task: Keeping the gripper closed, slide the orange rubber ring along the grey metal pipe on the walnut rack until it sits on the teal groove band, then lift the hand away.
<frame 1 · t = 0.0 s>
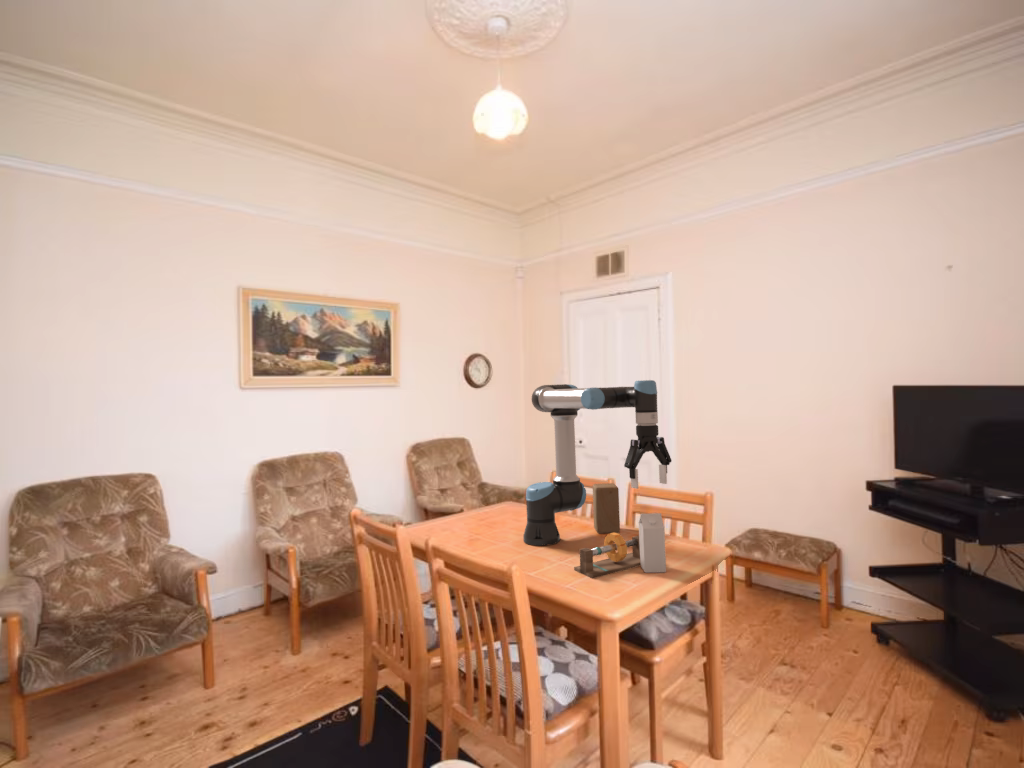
hand: (649, 485, 178), 28 cm above the table, fingers open, 13 cm apart
wooden block: (606, 531, 225), on the table
rack: (613, 566, 179), on the table
pipe: (613, 547, 180), point 6 cm above the table
ring: (615, 547, 180), point 7 cm above the table, slide at 8.0 cm
milk carton: (653, 569, 175), on the table
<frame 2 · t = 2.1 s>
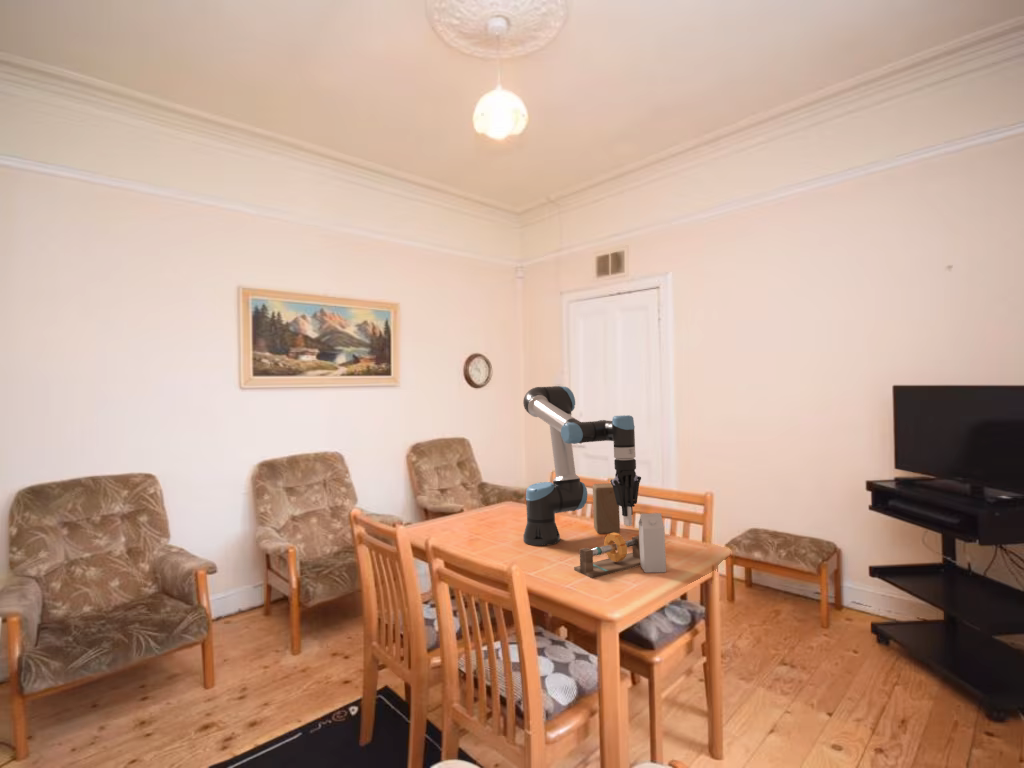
hand: (627, 524, 183), 13 cm above the table, fingers closed
nothing on the table moved.
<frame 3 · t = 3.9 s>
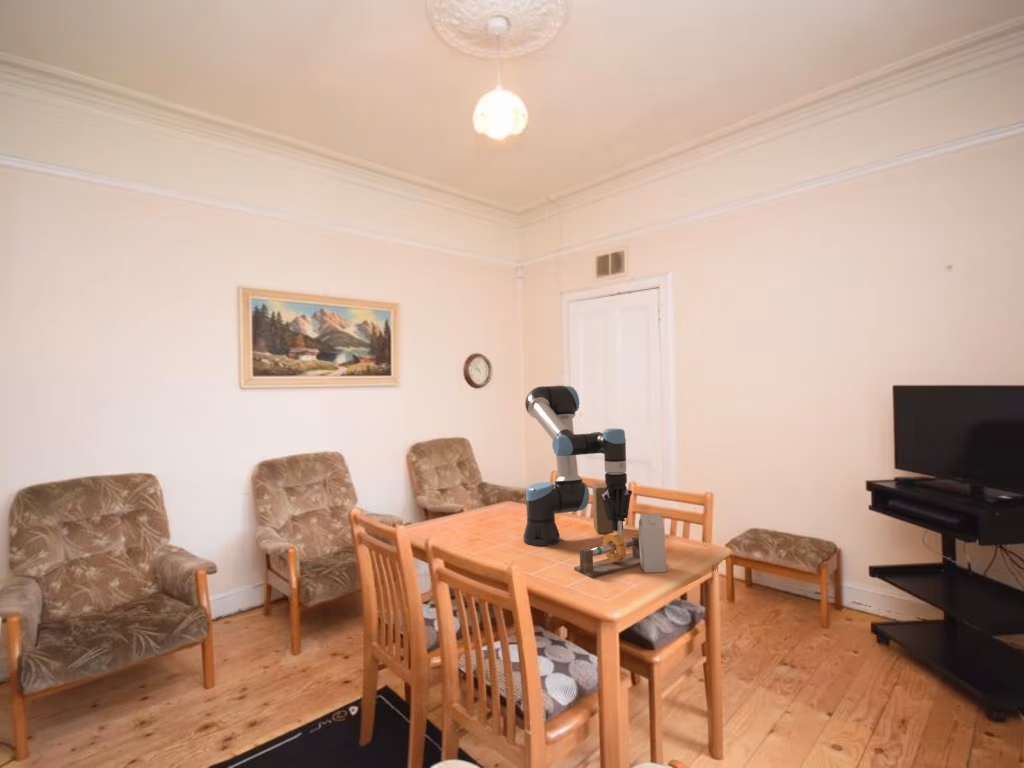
hand: (618, 539, 181), 9 cm above the table, fingers closed
ring: (614, 547, 180), point 7 cm above the table, slide at 7.5 cm, touching gripper
everything else where it was.
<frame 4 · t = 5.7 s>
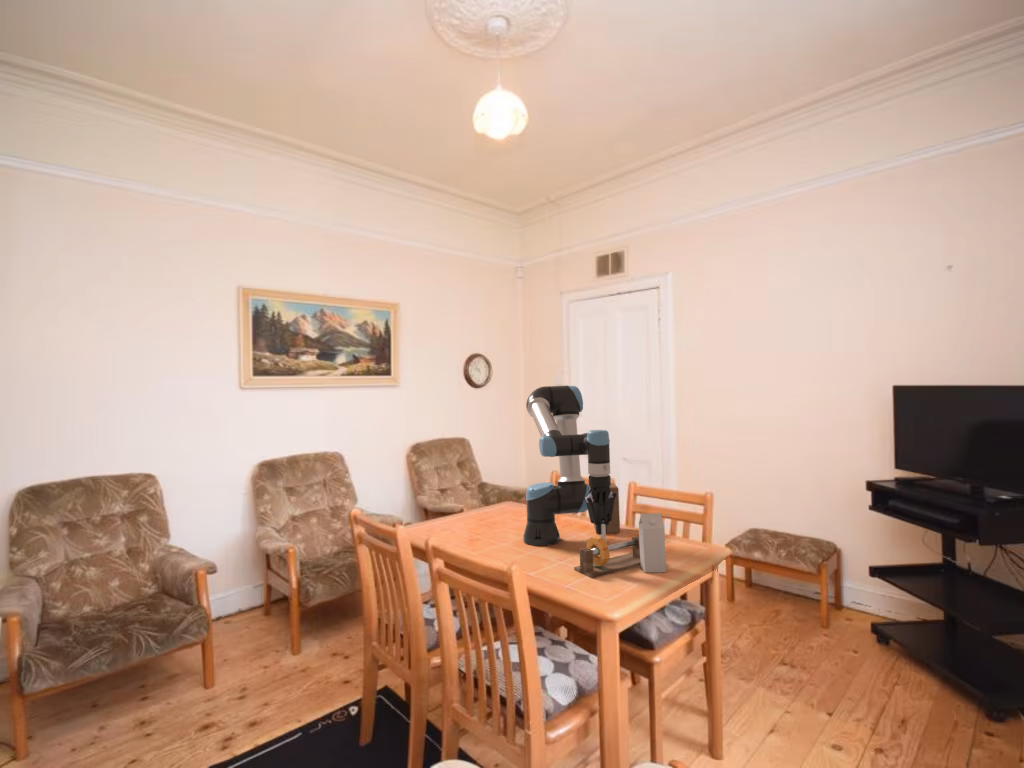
hand: (601, 543, 177), 9 cm above the table, fingers closed
ring: (597, 551, 176), point 7 cm above the table, slide at 0.1 cm, touching gripper
everything else where it was.
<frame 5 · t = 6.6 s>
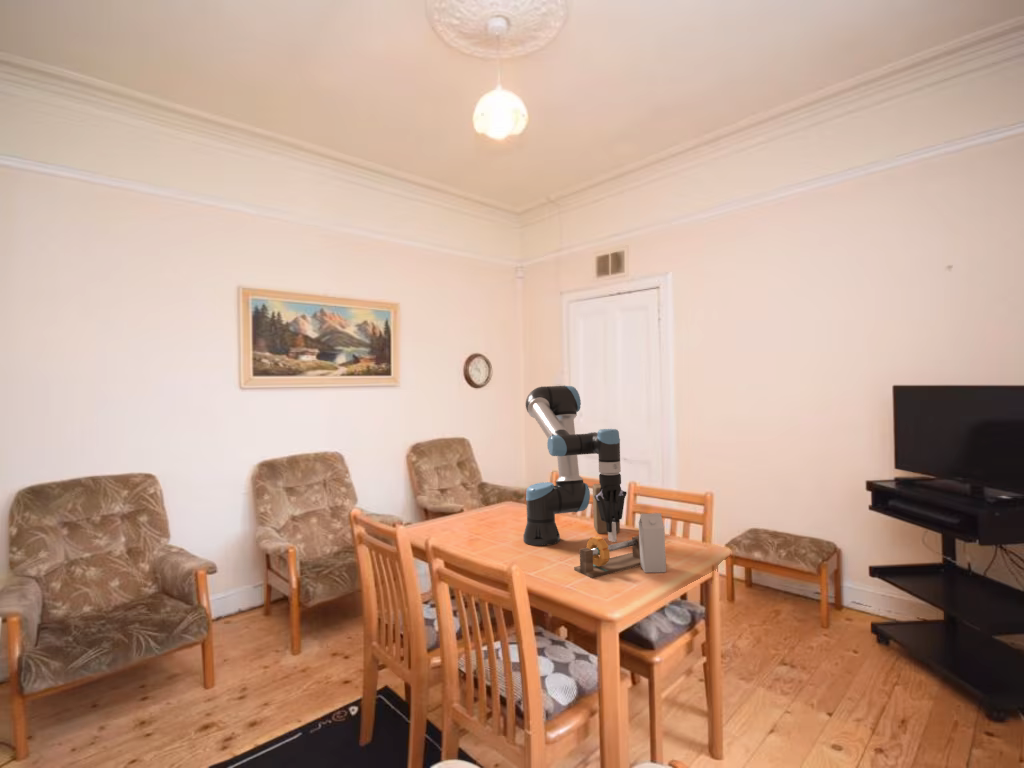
hand: (612, 540, 179), 9 cm above the table, fingers closed
ring: (597, 551, 176), point 7 cm above the table, slide at 0.1 cm
everything else where it was.
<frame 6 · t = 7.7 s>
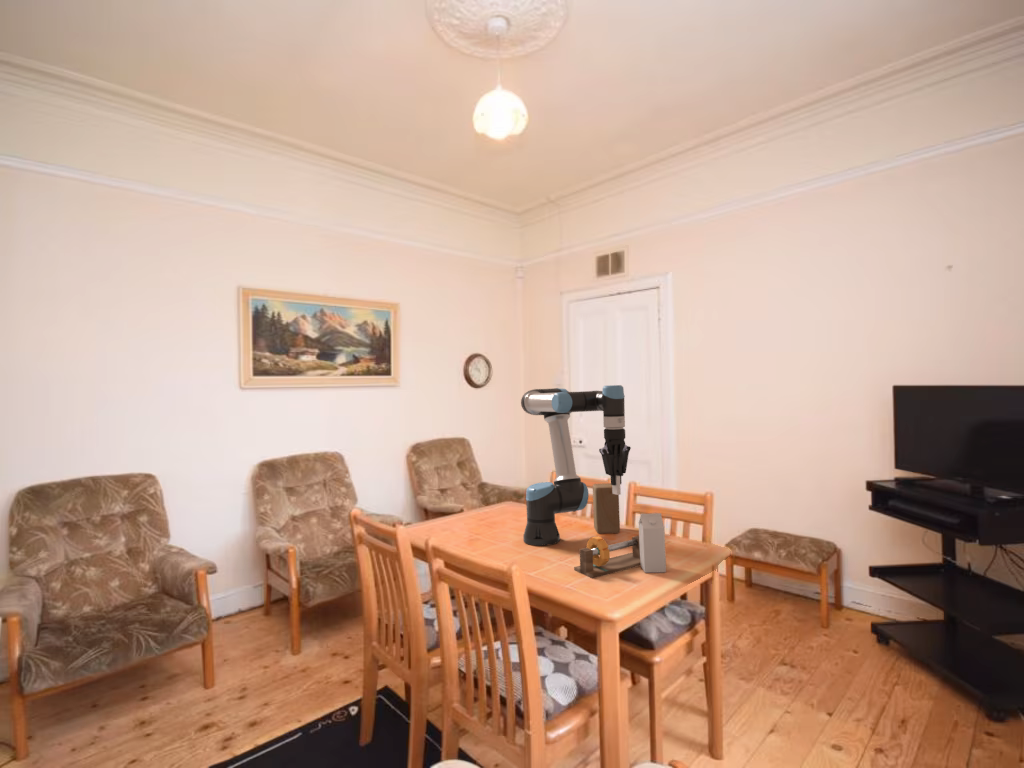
hand: (616, 493, 184), 24 cm above the table, fingers closed
nothing on the table moved.
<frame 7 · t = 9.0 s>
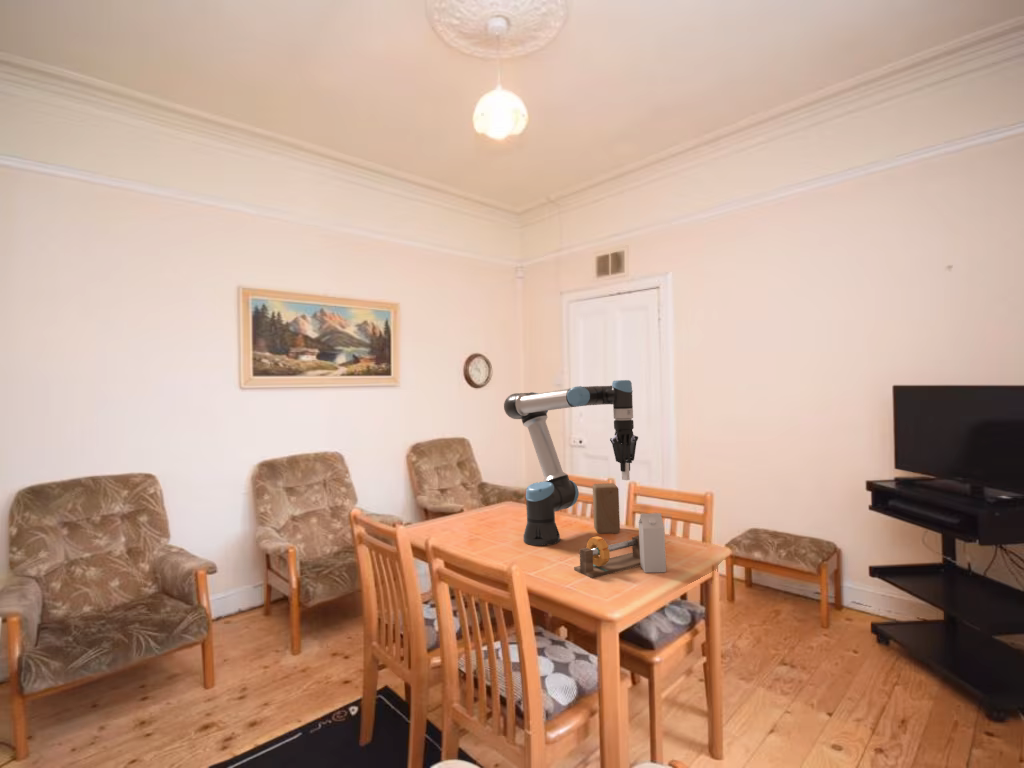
hand: (625, 479, 201), 26 cm above the table, fingers closed
nothing on the table moved.
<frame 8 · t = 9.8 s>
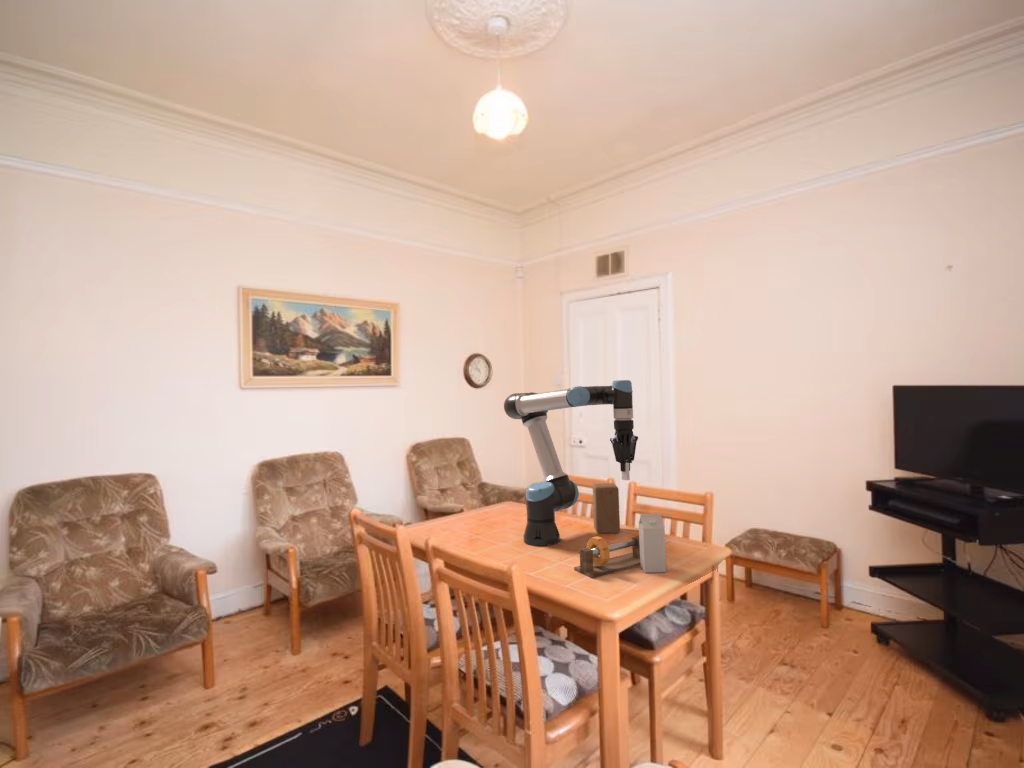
hand: (625, 479, 201), 26 cm above the table, fingers closed
nothing on the table moved.
at the end: ring slide at 0.1 cm; the gripper is holding nothing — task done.
